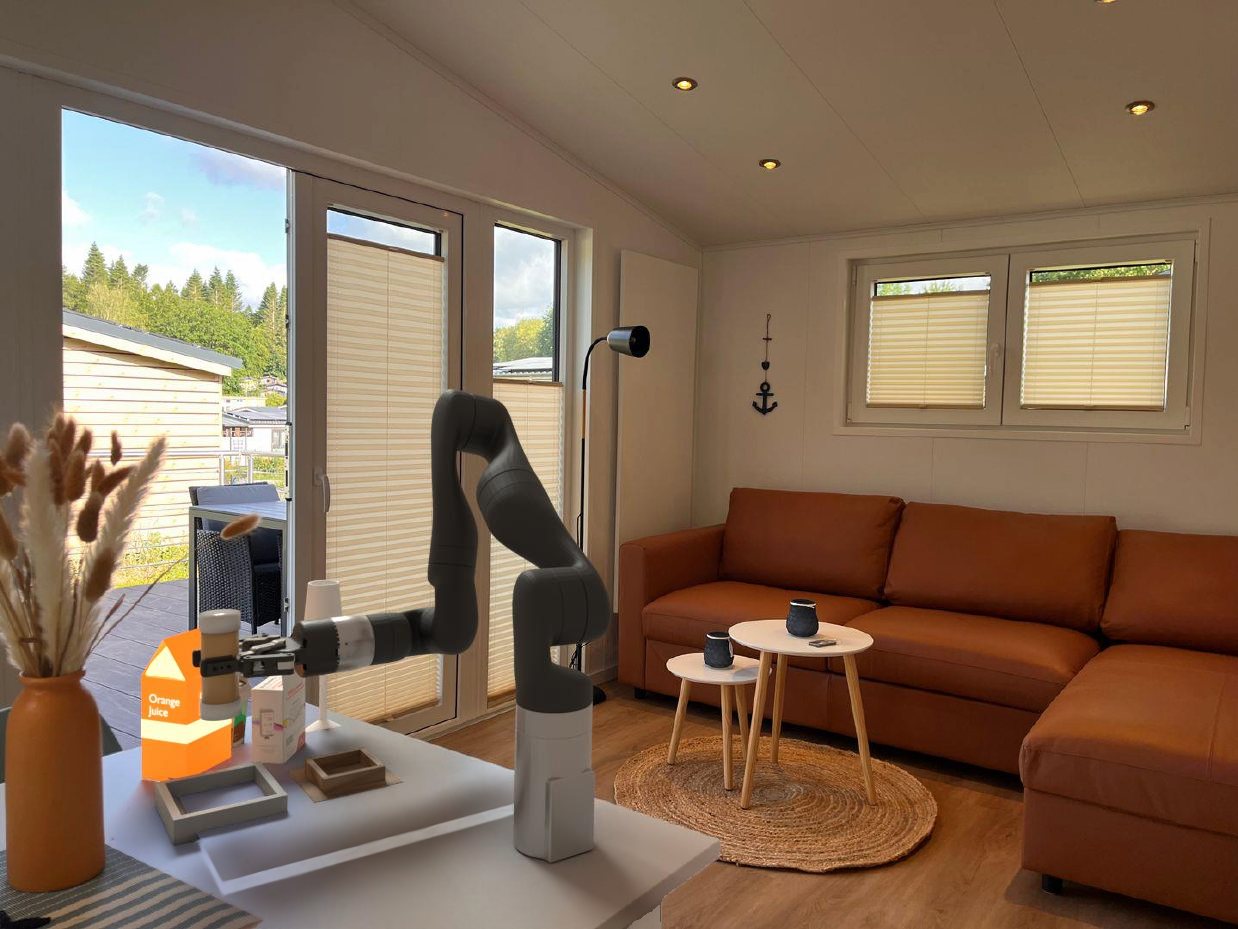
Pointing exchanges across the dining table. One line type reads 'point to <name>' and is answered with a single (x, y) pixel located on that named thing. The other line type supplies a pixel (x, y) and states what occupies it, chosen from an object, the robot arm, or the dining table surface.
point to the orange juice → (178, 715)
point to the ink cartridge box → (278, 718)
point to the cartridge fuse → (218, 641)
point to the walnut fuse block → (342, 774)
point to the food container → (240, 721)
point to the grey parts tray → (188, 825)
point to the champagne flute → (320, 605)
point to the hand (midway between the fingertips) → (197, 663)
